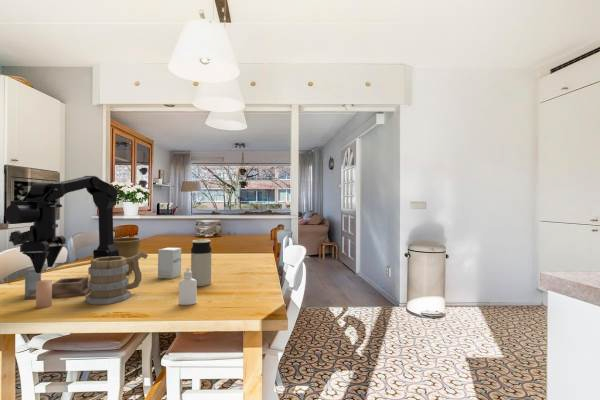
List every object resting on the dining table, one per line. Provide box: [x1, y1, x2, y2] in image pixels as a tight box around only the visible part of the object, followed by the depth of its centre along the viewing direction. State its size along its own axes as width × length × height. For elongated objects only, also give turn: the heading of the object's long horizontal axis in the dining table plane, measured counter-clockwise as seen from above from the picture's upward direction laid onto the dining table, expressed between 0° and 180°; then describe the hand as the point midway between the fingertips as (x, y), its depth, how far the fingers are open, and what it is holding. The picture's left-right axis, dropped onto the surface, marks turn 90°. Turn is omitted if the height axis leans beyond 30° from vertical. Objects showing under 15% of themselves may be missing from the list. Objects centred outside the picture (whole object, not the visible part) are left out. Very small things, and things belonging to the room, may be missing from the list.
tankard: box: [85, 251, 149, 305], centre depth 119 cm, size 20×13×15 cm, turn 139°
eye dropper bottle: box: [178, 267, 198, 306], centre depth 112 cm, size 4×6×12 cm
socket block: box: [24, 263, 90, 300], centre depth 122 cm, size 18×10×10 cm, turn 108°
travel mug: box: [190, 239, 212, 287], centre depth 137 cm, size 8×8×18 cm
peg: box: [35, 279, 53, 309], centre depth 108 cm, size 4×4×8 cm
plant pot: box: [113, 236, 142, 275], centre depth 155 cm, size 15×15×16 cm
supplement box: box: [157, 247, 182, 280], centre depth 151 cm, size 7×7×13 cm
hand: (44, 270), depth 108 cm, fingers open, 9 cm apart
